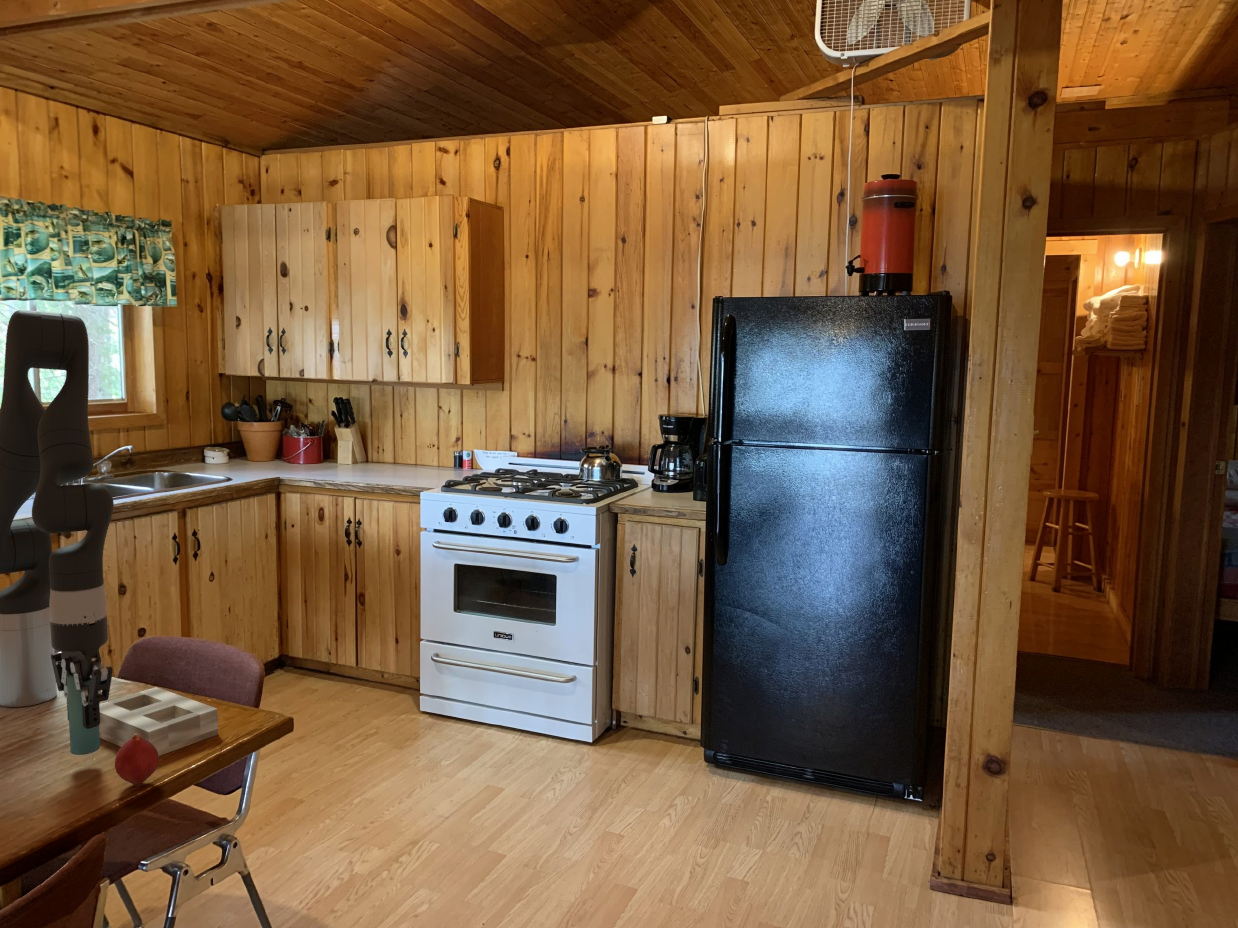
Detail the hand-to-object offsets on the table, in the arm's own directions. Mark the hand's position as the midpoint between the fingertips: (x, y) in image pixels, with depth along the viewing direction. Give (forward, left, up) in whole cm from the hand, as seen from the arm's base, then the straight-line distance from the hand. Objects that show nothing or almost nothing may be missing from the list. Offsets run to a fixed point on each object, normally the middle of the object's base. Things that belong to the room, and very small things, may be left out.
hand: (84, 722), depth 146 cm
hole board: (-4, +13, -7) cm, 15 cm away
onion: (+12, +1, -7) cm, 14 cm away
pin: (0, 0, -4) cm, 4 cm away
